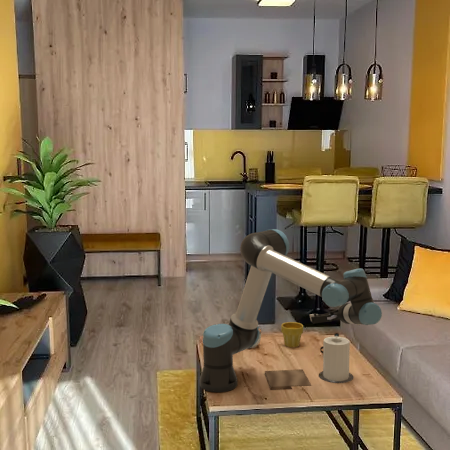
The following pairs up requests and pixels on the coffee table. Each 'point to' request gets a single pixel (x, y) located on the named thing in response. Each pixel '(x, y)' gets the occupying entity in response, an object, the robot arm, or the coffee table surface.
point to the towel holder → (336, 381)
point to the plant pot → (292, 333)
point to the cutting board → (286, 379)
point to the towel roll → (336, 358)
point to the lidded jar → (258, 340)
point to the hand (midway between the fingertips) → (326, 313)
